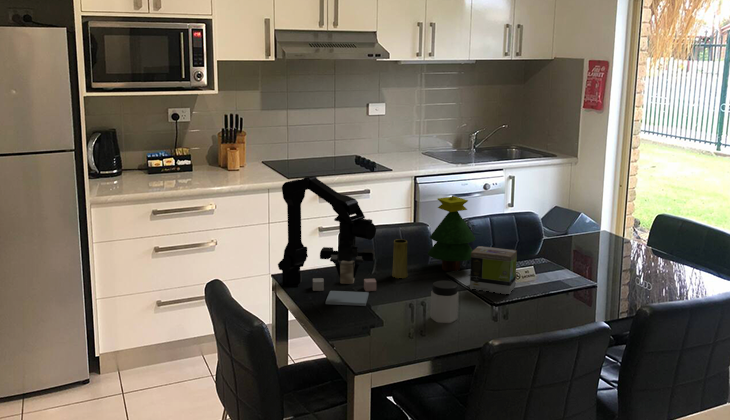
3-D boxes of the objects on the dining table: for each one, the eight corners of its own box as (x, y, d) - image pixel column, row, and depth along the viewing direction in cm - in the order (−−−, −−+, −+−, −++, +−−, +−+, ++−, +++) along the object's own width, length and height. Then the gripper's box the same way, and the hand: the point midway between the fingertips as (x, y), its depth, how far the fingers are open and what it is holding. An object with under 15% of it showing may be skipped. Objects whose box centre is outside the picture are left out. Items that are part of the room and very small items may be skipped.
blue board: (325, 304, 257) (325, 301, 257) (330, 293, 268) (330, 290, 268) (365, 305, 256) (365, 303, 256) (368, 294, 266) (368, 292, 266)
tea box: (515, 287, 276) (517, 249, 272) (508, 296, 267) (511, 256, 263) (476, 281, 282) (478, 244, 278) (468, 289, 273) (470, 251, 269)
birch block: (340, 283, 258) (340, 264, 257) (341, 279, 263) (341, 260, 261) (352, 283, 258) (353, 264, 256) (354, 279, 262) (354, 260, 261)
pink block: (365, 291, 270) (365, 282, 270) (363, 287, 274) (363, 278, 273) (376, 291, 271) (376, 282, 270) (374, 287, 275) (374, 278, 274)
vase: (406, 279, 284) (407, 243, 280) (390, 278, 285) (391, 242, 282) (408, 274, 290) (409, 239, 286) (393, 273, 291) (393, 238, 287)
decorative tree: (446, 279, 284) (448, 203, 277) (417, 265, 300) (419, 193, 293) (485, 271, 294) (488, 198, 287) (455, 259, 310) (458, 189, 303)
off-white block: (312, 291, 270) (312, 282, 270) (312, 287, 274) (312, 278, 274) (323, 290, 271) (323, 281, 270) (323, 287, 275) (323, 278, 274)
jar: (441, 311, 251) (442, 278, 248) (461, 317, 246) (462, 283, 243) (425, 319, 244) (426, 285, 241) (446, 325, 239) (447, 290, 236)
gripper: (317, 240, 249) (317, 283, 253) (372, 242, 248) (371, 286, 251) (322, 231, 260) (322, 273, 264) (375, 233, 258) (374, 275, 262)
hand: (347, 277), depth 260 cm, fingers closed on birch block, 4 cm apart
